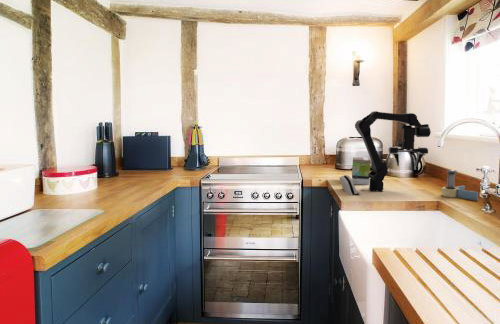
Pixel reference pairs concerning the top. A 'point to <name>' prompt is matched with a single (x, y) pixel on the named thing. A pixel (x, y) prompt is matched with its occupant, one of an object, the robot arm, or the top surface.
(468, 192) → the hinge barrel
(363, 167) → the tea box
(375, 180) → the robot arm
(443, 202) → the top surface
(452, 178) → the pin
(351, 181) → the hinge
